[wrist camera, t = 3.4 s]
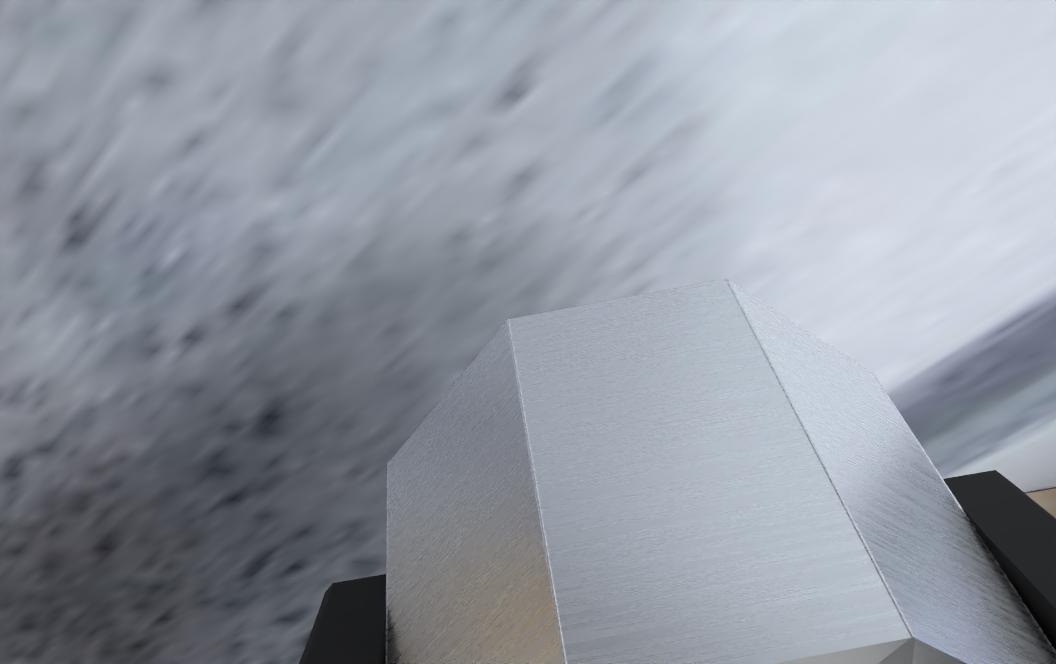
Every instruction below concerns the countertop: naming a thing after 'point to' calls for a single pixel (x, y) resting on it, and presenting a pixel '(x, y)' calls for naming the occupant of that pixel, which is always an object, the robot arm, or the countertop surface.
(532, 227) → the countertop surface
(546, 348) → the steel ring
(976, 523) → the robot arm
